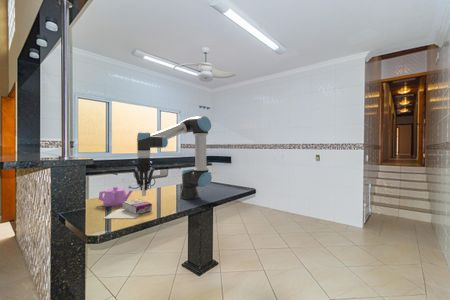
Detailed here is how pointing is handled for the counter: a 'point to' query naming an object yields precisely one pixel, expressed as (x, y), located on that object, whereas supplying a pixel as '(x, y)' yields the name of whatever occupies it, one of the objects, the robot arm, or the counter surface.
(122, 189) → the teakettle
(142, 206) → the candy bar box
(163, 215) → the counter surface
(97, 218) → the counter surface
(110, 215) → the mat
